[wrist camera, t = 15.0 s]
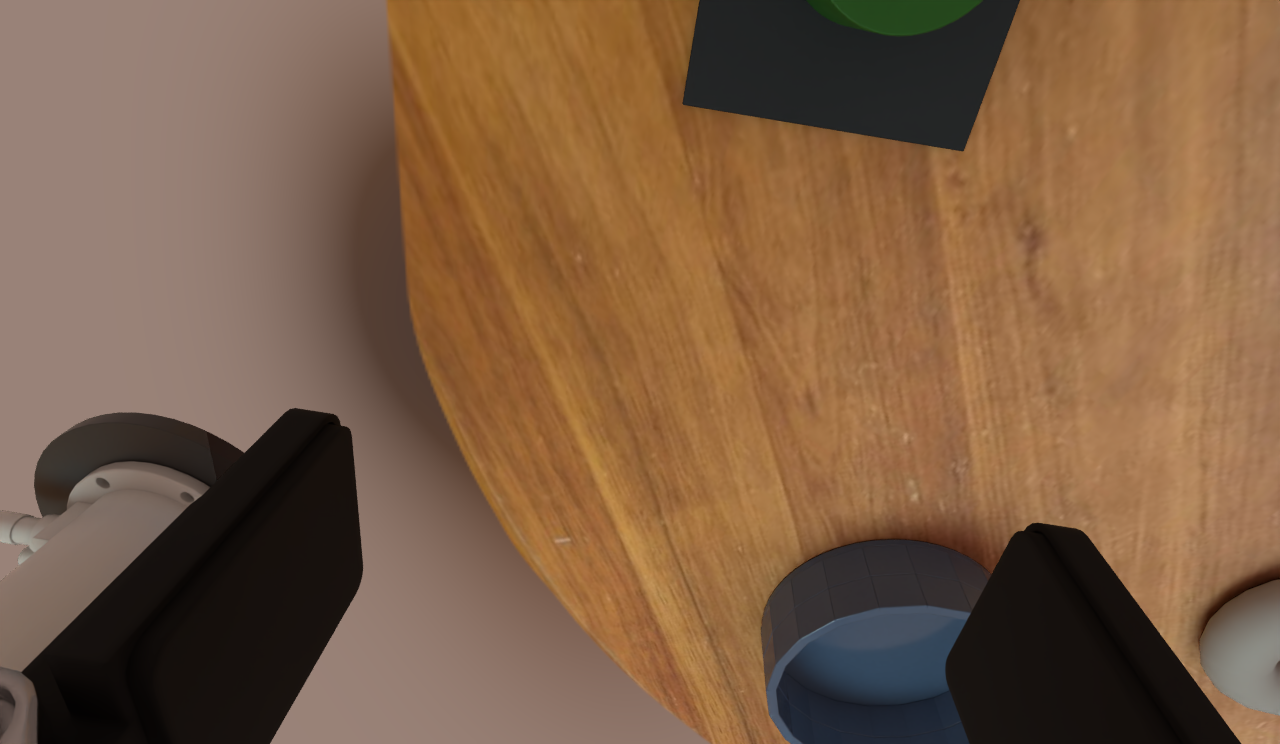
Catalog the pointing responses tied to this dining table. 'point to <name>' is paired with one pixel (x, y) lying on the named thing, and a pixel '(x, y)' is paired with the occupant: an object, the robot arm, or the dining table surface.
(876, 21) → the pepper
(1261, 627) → the donut
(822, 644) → the serving bowl
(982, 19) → the mat
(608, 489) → the dining table surface
